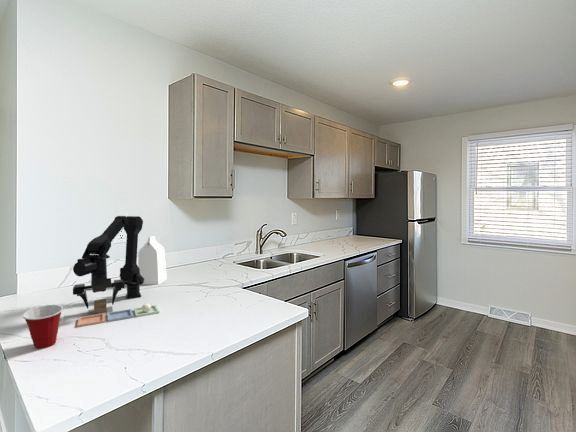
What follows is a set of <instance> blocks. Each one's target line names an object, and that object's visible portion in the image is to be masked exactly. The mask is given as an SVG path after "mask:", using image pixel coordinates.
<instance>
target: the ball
mask: <svg viewBox="0 0 576 432" xmlns="http://www.w3.org/2000/svg"><path fill="white" fill-rule="evenodd" d="M151 306H152V305H151V304H150V303H144V304H143V305H142V306H141V307H142V310H143V311H144V312H148V311H149V310H150V309H151Z"/></svg>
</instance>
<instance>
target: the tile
mask: <svg viewBox="0 0 576 432" xmlns="http://www.w3.org/2000/svg"><path fill="white" fill-rule="evenodd" d="M87 311H88V312H87V316H90V315H96V314H94V308H93V309H88V310H87ZM109 312H114V310H113V306H107V312H105V315H107V313H109ZM99 314H103V313H99Z"/></svg>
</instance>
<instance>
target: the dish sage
mask: <svg viewBox="0 0 576 432" xmlns="http://www.w3.org/2000/svg"><path fill="white" fill-rule="evenodd" d="M150 306H151V309H150V310H149V311H148V312H144V311H143V310H142V306H141V307H134V308H133V311H134V315H135V318H141V317H146V316H150V315H157V314H160V310H159V308H158V306H157V304H154V305H150Z"/></svg>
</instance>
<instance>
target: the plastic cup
mask: <svg viewBox="0 0 576 432" xmlns="http://www.w3.org/2000/svg"><path fill="white" fill-rule="evenodd" d="M63 310H64V307H63V306H62V305H60V304H47V305H46V304H45V305H41V306H37V307H33V308H30V309H28V310H26V311H25V312H24V313H22V318H23V319H24V320H25V322H26V325H27V328H28V331H29V333H30V338H31V341H32V343H33V346H34V349H36V348H37V349H38V350H39V349H40V350H41V349H47V348H50V347H52V346H54V345H55V344H56V343H57V338H58V334H59V325H60V320H61V319H60V318H61V315H62V312H63Z"/></svg>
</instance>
